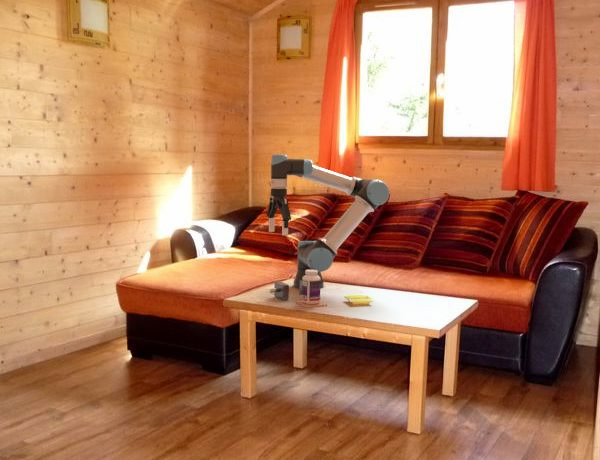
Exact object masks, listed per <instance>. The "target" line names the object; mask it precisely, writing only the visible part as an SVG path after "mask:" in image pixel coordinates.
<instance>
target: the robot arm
mask: <svg viewBox="0 0 600 460" xmlns="http://www.w3.org/2000/svg"><path fill="white" fill-rule="evenodd" d="M270 158H271V160H270V187H271V189H270V197H269V203H268V208H267V210H266V217H267V218H268V232H269V233H273V232H275V230H276V229H275V228H276V227H275V223H276V222H275V220H276V219H275V218H276V216H275V215H276V214H277V213H276V212H277V210H279V211H280V212H279V213H280V214H281V218H282V220H281V222H282V224H281V225H282V227H281V228H282V229H281V236H289V221H291V220H292V216H291V211H290V206H289V200H288V198H285V197H287V196H288V189H287V187H288V176H295V177H299V178H302V179H305V180H307V181H311V182H314V183H317V184H321V185H323V186H326V187H329V188H332V189H335V190H338V191H342V192H345V193H346V195H347V196H350V197H353V198H354V199H355V200H354V201H353V203H352V204H351V205H350V206H349V208H347V210H346V211H345V212H344V213H343V214H342V216H341V217H339V219H338V220H337V221H336V223H334V225H333V226H332V227H331V228H330V230H329V231H328V232H327V233H326V234H325V235H324V237H319V238H317V240H301V241H298V242H297V263H296V264H297V265H296V266H297V267H296V268H297V271H296V274H295V277H294V279H293V287H294V288H297V289H300V280H302V278H303V276H305V275H306V274H305V270H318V274H317V275H318V276H319V277H320V279H321V282H320V289H322V288H324V285H325V283H324V282H325V281H324V279H323V275H322V273H323V272H325V271H327V270H328V269H330V268H331V266H332V265H333V262H334V258H335V257H336V256H337V255H338V249H339V247H341V246H342V244H343V243H344V242H345V240H347V238H348V237H349V236H350V235H351V234H352V232H353V231H354V230H355V229H356V228H357V227H358V226H359V224H360V223H361V222H362V221H363V220H364V218H365V217H366V216H367V215H368V214H369V213H371V212H372V213H374V212H375V211H376V210H377V208H378V207H379V206H382V205H384V204H385V203H386V202H387V201H388V200H389V198H390V189H389V187H388V185H387V184H386V183H385V182H384V181H382V180H380V179H370V178H359V177H356V176H352V177H349V176H347V175H344V174H341V173H337V172H334V171H332V170H330V169H329V170H328V169H326V168H322V167H319V166H316V165H314V164H313V161H312V160H311V159H308V158H307V159H306V158H288V155H287V154H272V155H271V157H270Z"/></svg>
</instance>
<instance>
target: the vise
mask: <svg viewBox="0 0 600 460" xmlns="http://www.w3.org/2000/svg"><path fill="white" fill-rule="evenodd" d="M298 292H299V293H298V294H299V296H301V295H302V280H300V288H299V291H298ZM269 293H273V294H274V295H273V296H274V298H276V299H278V300H280V301H282V302H284V301H285V302H286V301H289V298H290V297H289V296H290V284H287V283H285V282H283V281H274V288H270V289H269Z"/></svg>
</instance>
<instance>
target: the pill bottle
mask: <svg viewBox="0 0 600 460" xmlns="http://www.w3.org/2000/svg"><path fill="white" fill-rule="evenodd" d="M305 274H306V275H305V276H303V278H302V296H301V301H302V302H303V303H305V304H317V303H319V302H321V288H320V282H321V279H320V277H319V276H318V275H317V274H318V270H305Z"/></svg>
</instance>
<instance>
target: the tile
mask: <svg viewBox="0 0 600 460" xmlns="http://www.w3.org/2000/svg"><path fill="white" fill-rule="evenodd" d="M295 303H296V304H297V305H300V306H301V307H302V306H303V307H304V308H306V309H308V308H309V309H310V308H317V307H318V308H319V307H320V308H321V307H327V306H328V305H327V303H324V302H322V301H320V302H319V303H317V304H305V303H303V302H302V300H297V301H295Z"/></svg>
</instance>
